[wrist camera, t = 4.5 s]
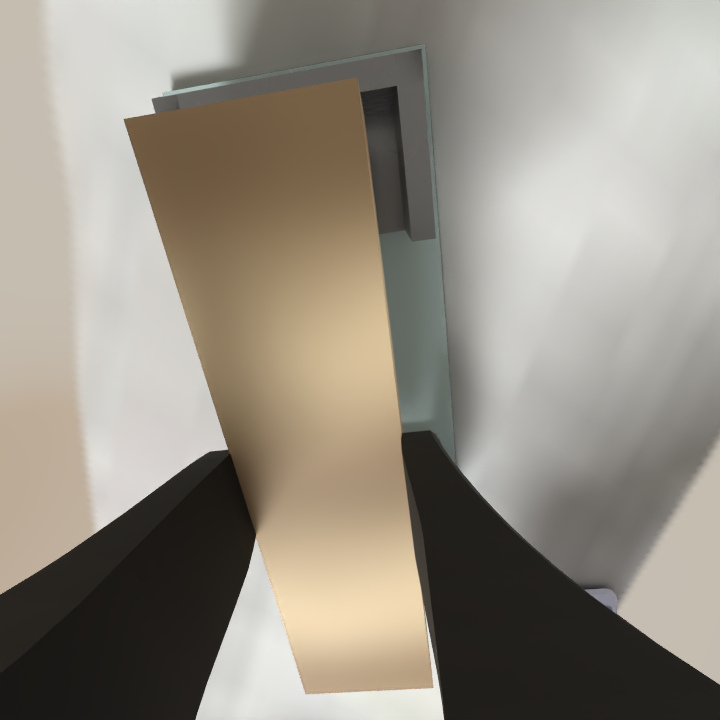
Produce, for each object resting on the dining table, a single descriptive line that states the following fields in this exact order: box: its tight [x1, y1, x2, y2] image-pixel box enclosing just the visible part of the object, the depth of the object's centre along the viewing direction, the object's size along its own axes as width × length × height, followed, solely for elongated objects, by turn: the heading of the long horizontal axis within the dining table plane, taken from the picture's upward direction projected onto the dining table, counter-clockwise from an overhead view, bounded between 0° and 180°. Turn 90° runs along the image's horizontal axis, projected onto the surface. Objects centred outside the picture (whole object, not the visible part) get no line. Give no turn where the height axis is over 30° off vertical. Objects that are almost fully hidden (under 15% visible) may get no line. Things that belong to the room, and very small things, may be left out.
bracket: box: [152, 49, 436, 242], centre depth 12 cm, size 4×6×4 cm, turn 98°
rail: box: [124, 78, 433, 694], centre depth 11 cm, size 14×4×4 cm, turn 8°
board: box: [162, 44, 456, 464], centre depth 17 cm, size 19×8×1 cm, turn 8°
